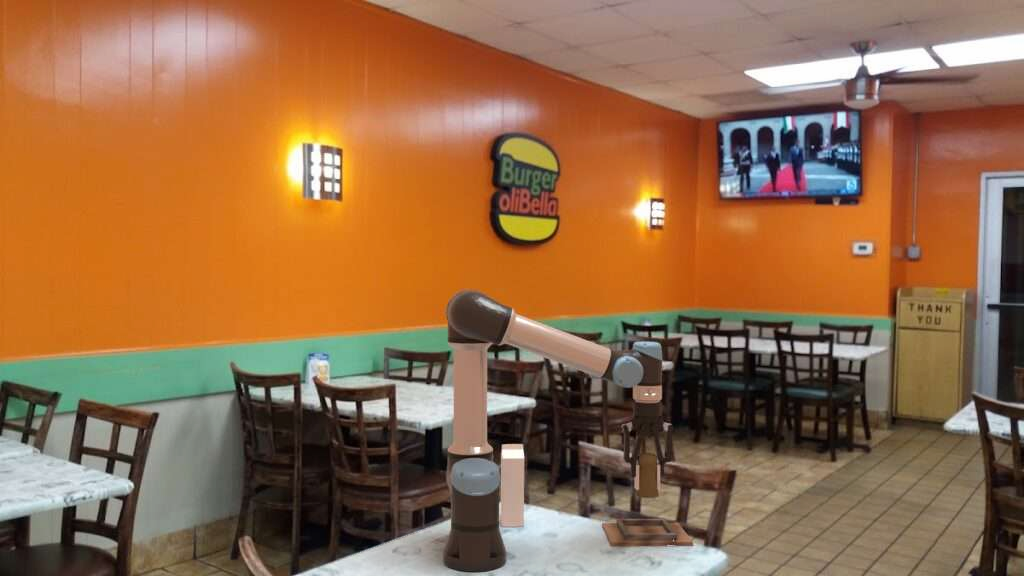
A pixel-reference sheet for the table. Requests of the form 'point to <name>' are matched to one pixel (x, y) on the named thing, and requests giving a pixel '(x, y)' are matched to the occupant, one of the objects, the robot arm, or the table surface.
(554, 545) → the table surface
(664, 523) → the board
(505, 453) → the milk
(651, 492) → the brown tall rounded piece
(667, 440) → the robot arm
